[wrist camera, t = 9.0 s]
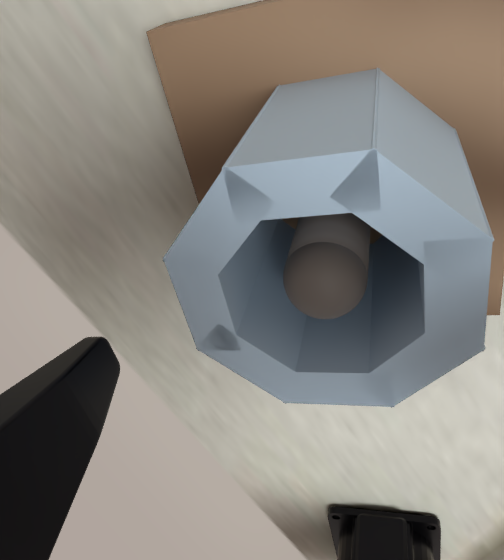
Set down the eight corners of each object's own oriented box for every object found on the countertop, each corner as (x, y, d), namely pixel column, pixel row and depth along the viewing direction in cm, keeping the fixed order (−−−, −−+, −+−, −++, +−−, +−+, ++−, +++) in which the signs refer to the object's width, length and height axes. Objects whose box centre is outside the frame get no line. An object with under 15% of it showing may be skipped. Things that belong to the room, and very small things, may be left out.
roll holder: (492, 289, 18) (544, 466, 12) (242, 298, 21) (187, 442, 15) (521, -61, 12) (655, -47, 6) (165, 23, 15) (21, 86, 9)
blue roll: (452, 269, 16) (480, 411, 11) (259, 278, 18) (215, 400, 13) (458, 53, 12) (504, 131, 8) (214, 95, 14) (131, 177, 10)
